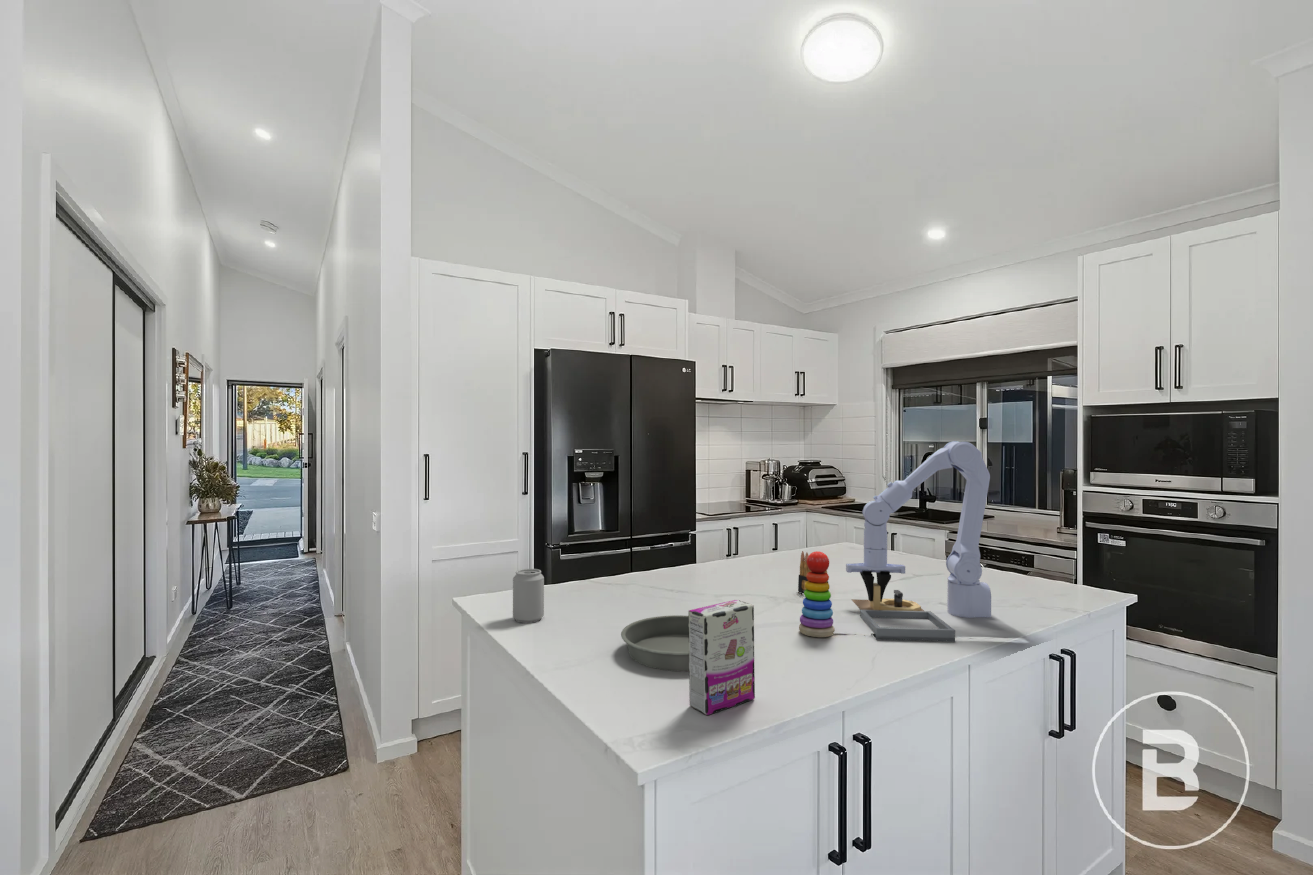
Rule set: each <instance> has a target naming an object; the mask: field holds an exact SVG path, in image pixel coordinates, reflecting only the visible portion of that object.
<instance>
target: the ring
mask: <svg viewBox="0 0 1313 875" xmlns="http://www.w3.org/2000/svg"><path fill="white" fill-rule="evenodd" d="M889 605H894V598H882V602H880V586H879V585H878V584H877V582H874V584H873V601H870V606H871V607H872V608H873V609H874V610H896V611H921V608H922V606H921V605H920V604H919V603H917V602H916V601H912V600H907V599H904V598H902V606H907V607H908V608H907V607H893V606H889Z"/></svg>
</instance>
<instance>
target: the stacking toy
mask: <svg viewBox="0 0 1313 875" xmlns="http://www.w3.org/2000/svg"><path fill="white" fill-rule="evenodd" d="M807 566H808V568H809V569H810V570H811V572H809V573H807V579H808V580H809V581H807V582H806V583H805V588H806V590H805V591H804V590H803V592H804V594H803V596H804V598H803V600H802V605H803V607H802V608H801V613H802V614H801V615H800V616H799V622H800V624H799V625H798V630H799V632H800V633H801V634H802V635H804V636H808V637H812V638H828V637H831V636H833V635H834V634H835V631H836V630H835V627H834V619H833V617H832V616H833V614H834V611H833V609H832V606H833V602H832V601H831V597H832V594H831V592H830V590H829V589H830V584H829V580H830V576H829V574H828V572H827V573H825V571H826V570H827V571H828V570H829V566H830V558H829V557H828V556H827V554H826V553H824V552H823V551H813V552H811V553H809V554H808V558H807ZM827 581H828V583H827ZM828 590H829V591H828Z"/></svg>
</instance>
